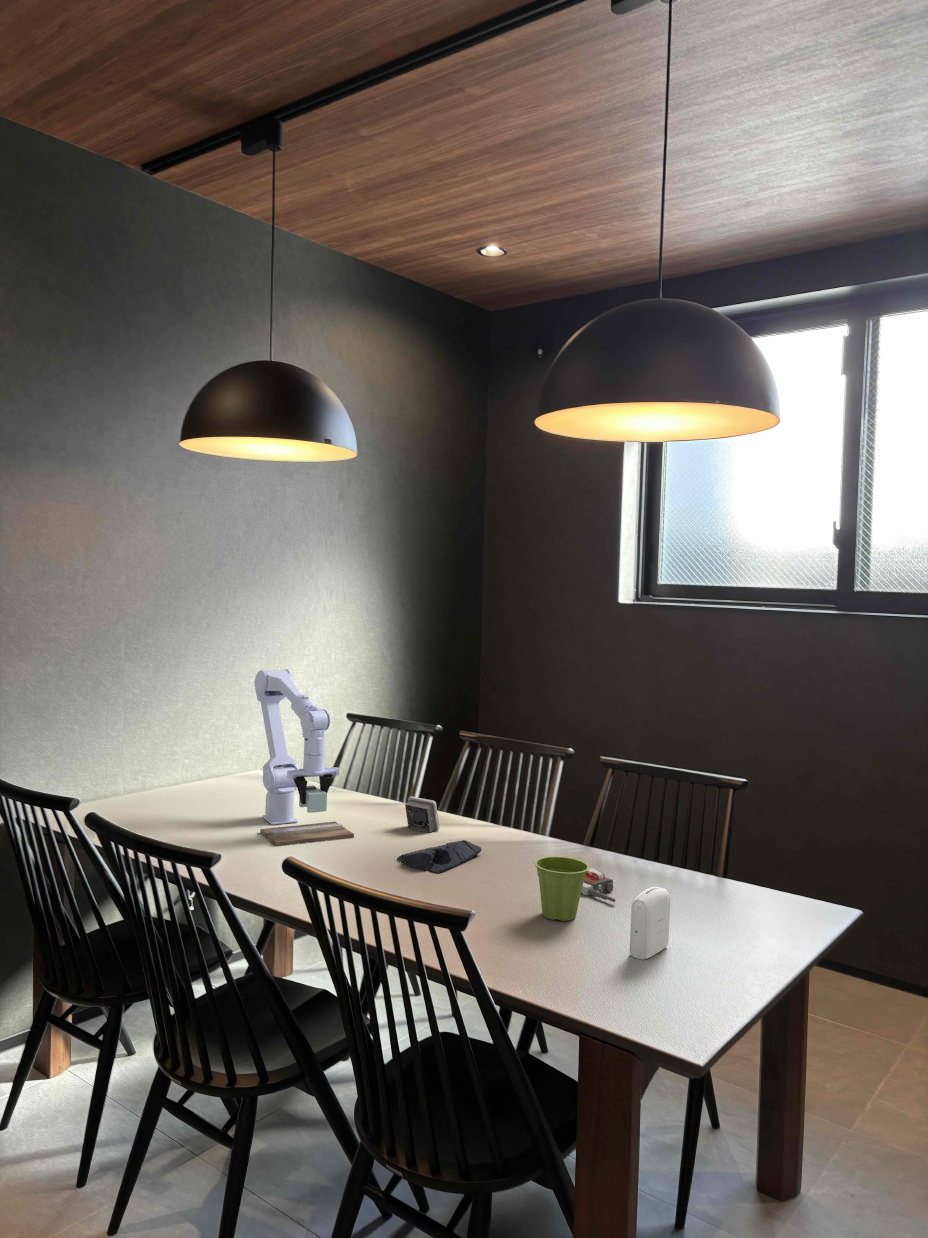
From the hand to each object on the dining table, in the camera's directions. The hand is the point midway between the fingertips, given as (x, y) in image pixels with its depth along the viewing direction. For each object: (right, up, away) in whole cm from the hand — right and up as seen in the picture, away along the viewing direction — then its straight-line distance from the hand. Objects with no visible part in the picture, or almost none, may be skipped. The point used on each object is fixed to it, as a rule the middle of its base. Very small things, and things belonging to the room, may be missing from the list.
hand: (312, 802), depth 249 cm
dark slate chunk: (+36, -12, -17) cm, 42 cm away
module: (0, -2, 0) cm, 2 cm away
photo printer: (+78, -15, -72) cm, 108 cm away
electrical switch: (+30, -10, +9) cm, 33 cm away
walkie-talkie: (+72, -14, -37) cm, 82 cm away
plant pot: (+62, -13, -55) cm, 84 cm away
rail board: (-2, -9, 0) cm, 9 cm away
